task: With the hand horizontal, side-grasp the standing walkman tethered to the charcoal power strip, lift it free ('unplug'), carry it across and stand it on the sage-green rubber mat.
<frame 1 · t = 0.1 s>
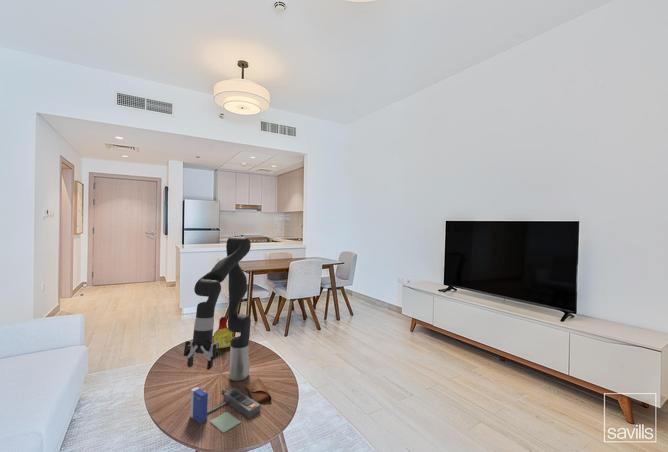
hand: (199, 368, 123), 22 cm above the table, tool pointing down, fingers open, 8 cm apart
walkman: (198, 419, 125), on the table
power strip: (241, 405, 135), on the table
sunglasses case: (257, 395, 144), on the table
bottle: (222, 347, 193), on the table
mat: (225, 422, 123), on the table
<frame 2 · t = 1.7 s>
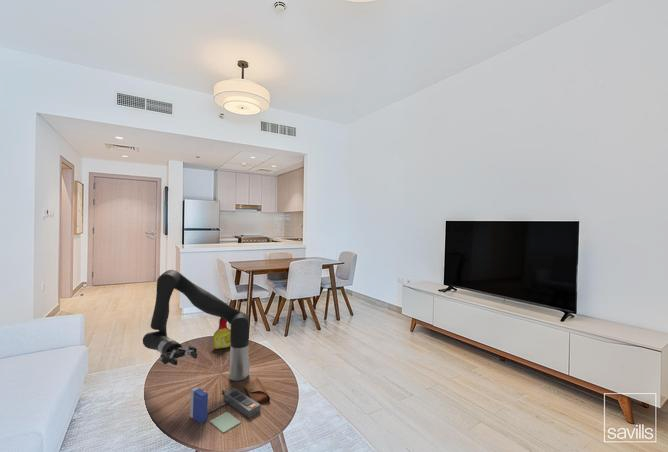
hand: (186, 359, 131), 21 cm above the table, tool horizontal, fingers open, 8 cm apart
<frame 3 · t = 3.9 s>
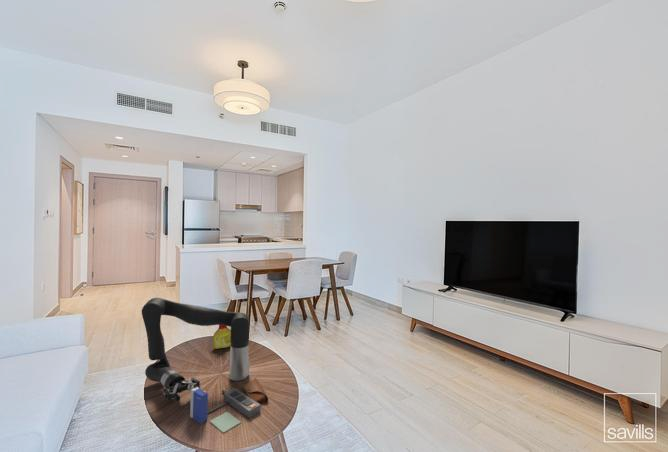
hand: (189, 394, 130), 7 cm above the table, tool horizontal, fingers open, 8 cm apart
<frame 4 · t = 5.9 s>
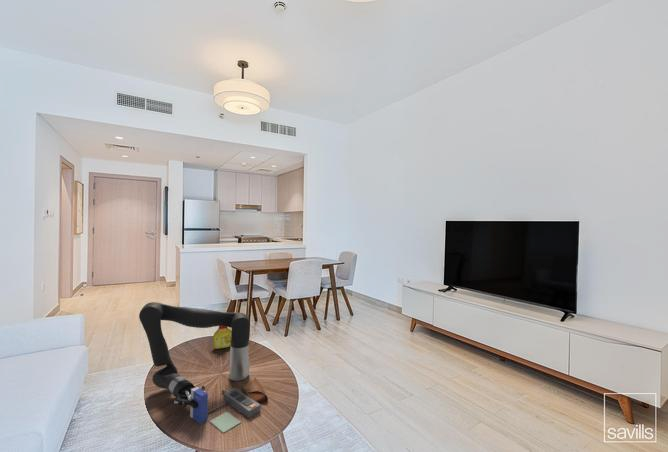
hand: (200, 403, 124), 7 cm above the table, tool horizontal, fingers open, 3 cm apart
walkman: (198, 419, 125), on the table, touching gripper
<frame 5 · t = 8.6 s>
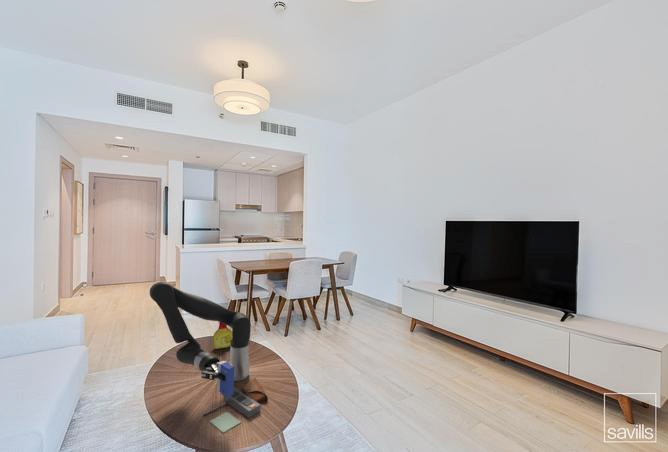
hand: (228, 377, 122), 20 cm above the table, tool horizontal, fingers closed on walkman, 2 cm apart
walkman: (224, 392, 123), point 12 cm above the table, touching gripper
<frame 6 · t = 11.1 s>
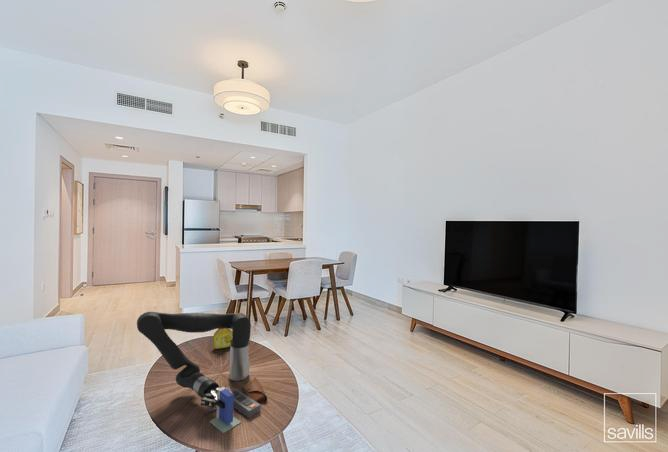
hand: (227, 404, 122), 8 cm above the table, tool horizontal, fingers closed on walkman, 2 cm apart
walkman: (224, 419, 123), point 1 cm above the table, touching gripper
sunglasses case: (253, 395, 144), on the table, touching power strip
everything else where it was.
when the fingers open (8 cm above the table, at t = 11.7 s): walkman stays where it is, resting on mat.
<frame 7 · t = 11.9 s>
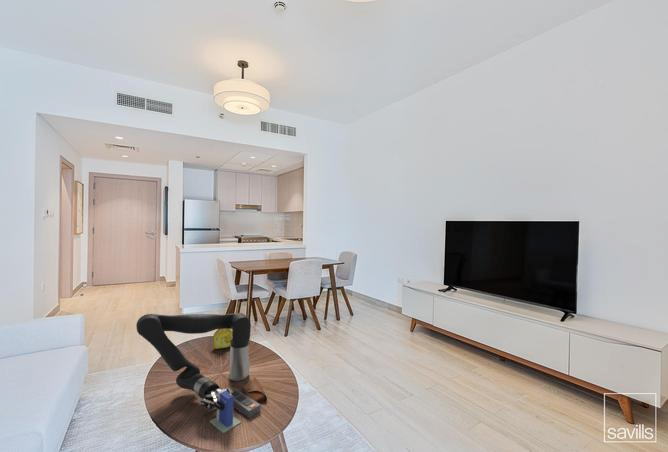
hand: (228, 404, 122), 8 cm above the table, tool horizontal, fingers open, 4 cm apart
walkman: (224, 421, 123), resting on mat
sunglasses case: (253, 395, 144), on the table
everything else where it was.
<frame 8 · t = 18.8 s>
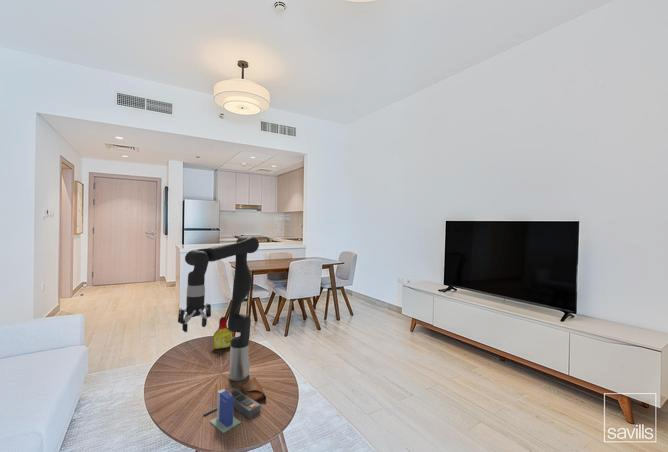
hand: (194, 329, 136), 33 cm above the table, tool pointing down, fingers open, 8 cm apart
sunglasses case: (252, 394, 144), on the table, touching power strip
everything else where it was.
at the end: walkman 0.4 cm from the mat (horizontally); walkman touching mat; the gripper is holding nothing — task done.
